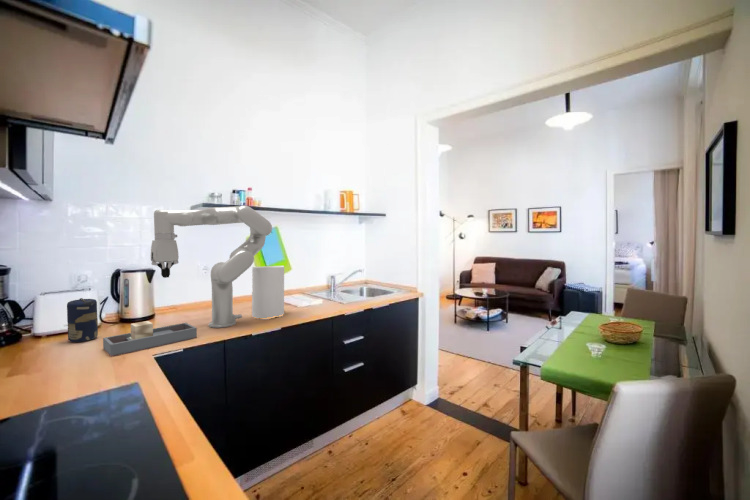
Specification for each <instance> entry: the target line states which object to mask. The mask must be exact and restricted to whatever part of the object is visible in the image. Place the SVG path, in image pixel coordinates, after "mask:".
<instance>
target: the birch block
mask: <svg viewBox="0 0 750 500" xmlns="http://www.w3.org/2000/svg"><path fill="white" fill-rule="evenodd" d="M153 329H154V323H153V322H151V321H149V320H146V321H139V322H135V323H134V322H133V323H130V333H131V339H133V340H134V339H139V338H144V337H149V336H153Z"/></svg>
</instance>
